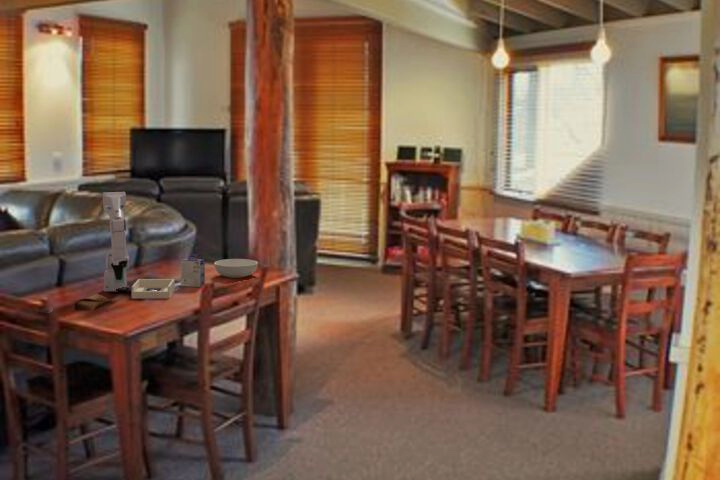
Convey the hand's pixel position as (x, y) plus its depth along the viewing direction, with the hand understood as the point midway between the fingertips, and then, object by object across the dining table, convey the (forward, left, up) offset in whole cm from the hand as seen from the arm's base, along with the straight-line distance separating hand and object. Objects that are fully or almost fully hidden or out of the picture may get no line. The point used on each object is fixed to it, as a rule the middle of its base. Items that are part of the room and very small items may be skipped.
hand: (120, 278), depth 371 cm
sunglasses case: (-8, -14, -9) cm, 18 cm away
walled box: (+13, +6, -8) cm, 17 cm away
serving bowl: (+46, +44, -9) cm, 64 cm away
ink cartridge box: (+28, +23, -9) cm, 37 cm away
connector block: (0, 0, -2) cm, 2 cm away
